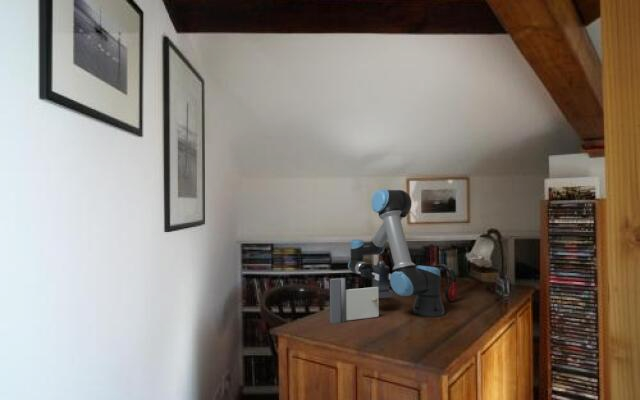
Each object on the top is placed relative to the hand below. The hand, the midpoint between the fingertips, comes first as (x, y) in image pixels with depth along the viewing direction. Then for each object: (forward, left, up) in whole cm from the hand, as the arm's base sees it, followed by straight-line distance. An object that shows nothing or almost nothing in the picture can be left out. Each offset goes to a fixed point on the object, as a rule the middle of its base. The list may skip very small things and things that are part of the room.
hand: (384, 277), depth 184 cm
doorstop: (+3, -3, -10) cm, 11 cm away
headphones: (-23, -40, -18) cm, 50 cm away
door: (+7, +14, -17) cm, 23 cm away
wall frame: (+16, +22, -18) cm, 33 cm away
